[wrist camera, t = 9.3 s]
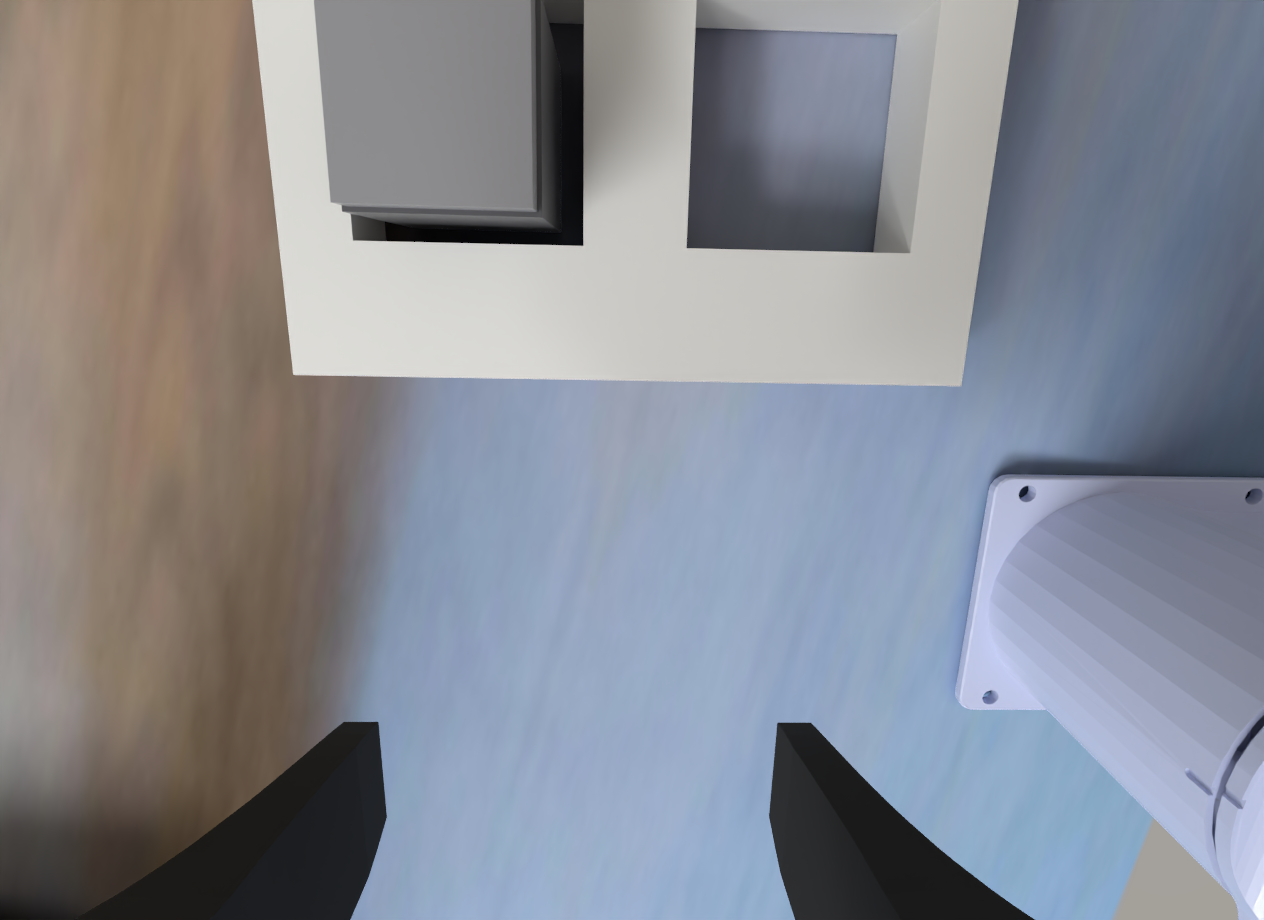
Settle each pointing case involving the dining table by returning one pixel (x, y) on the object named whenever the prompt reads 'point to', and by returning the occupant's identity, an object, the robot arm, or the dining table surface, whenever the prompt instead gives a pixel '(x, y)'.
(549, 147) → the plug
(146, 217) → the dining table surface
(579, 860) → the dining table surface
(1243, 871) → the robot arm
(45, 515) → the dining table surface
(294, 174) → the socket block
